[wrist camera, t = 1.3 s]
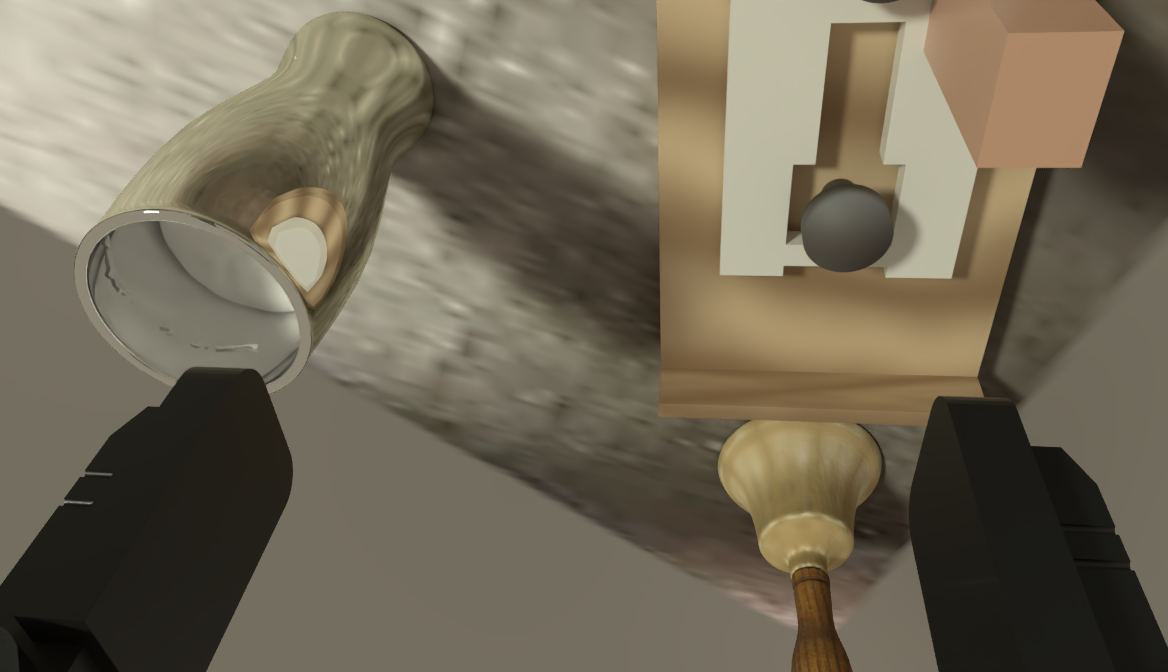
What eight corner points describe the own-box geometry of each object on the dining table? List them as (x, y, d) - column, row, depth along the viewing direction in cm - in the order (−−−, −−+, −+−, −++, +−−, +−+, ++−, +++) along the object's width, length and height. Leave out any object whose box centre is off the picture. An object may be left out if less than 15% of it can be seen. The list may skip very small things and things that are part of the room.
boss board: (655, -382, 26) (645, -380, 22) (1179, -423, 24) (1257, -427, 21) (662, 359, 43) (657, 426, 40) (966, 368, 42) (988, 438, 38)
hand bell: (772, 383, 44) (793, 691, 31) (915, 446, 45) (989, 762, 33) (689, 482, 49) (679, 780, 36) (820, 535, 50) (854, 838, 38)
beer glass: (468, 46, 35) (343, 269, 23) (418, 188, 39) (292, 437, 27) (292, -33, 33) (68, 160, 22) (261, 122, 38) (60, 353, 26)
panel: (745, -388, 24) (756, -385, 17) (1102, -416, 23) (1268, -424, 16) (719, 261, 37) (720, 411, 30) (946, 264, 36) (1000, 421, 29)
